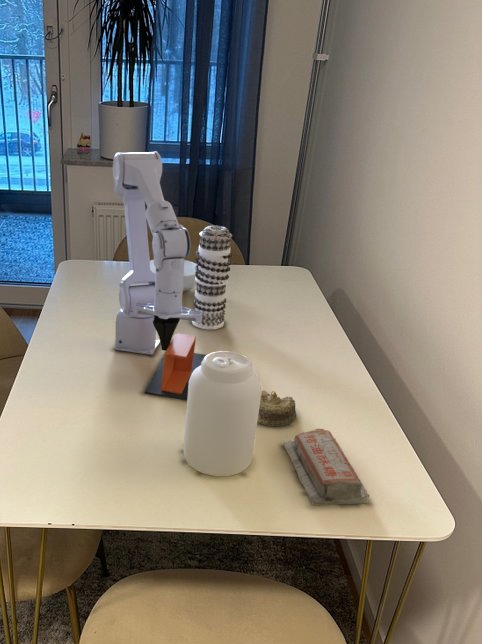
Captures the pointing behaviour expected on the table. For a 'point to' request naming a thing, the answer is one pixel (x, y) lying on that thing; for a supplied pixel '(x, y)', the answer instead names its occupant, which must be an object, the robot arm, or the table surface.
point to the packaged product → (325, 469)
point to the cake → (276, 410)
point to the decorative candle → (212, 276)
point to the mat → (156, 381)
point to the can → (222, 414)
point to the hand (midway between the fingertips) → (165, 348)
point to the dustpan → (178, 363)
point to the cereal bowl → (188, 274)
